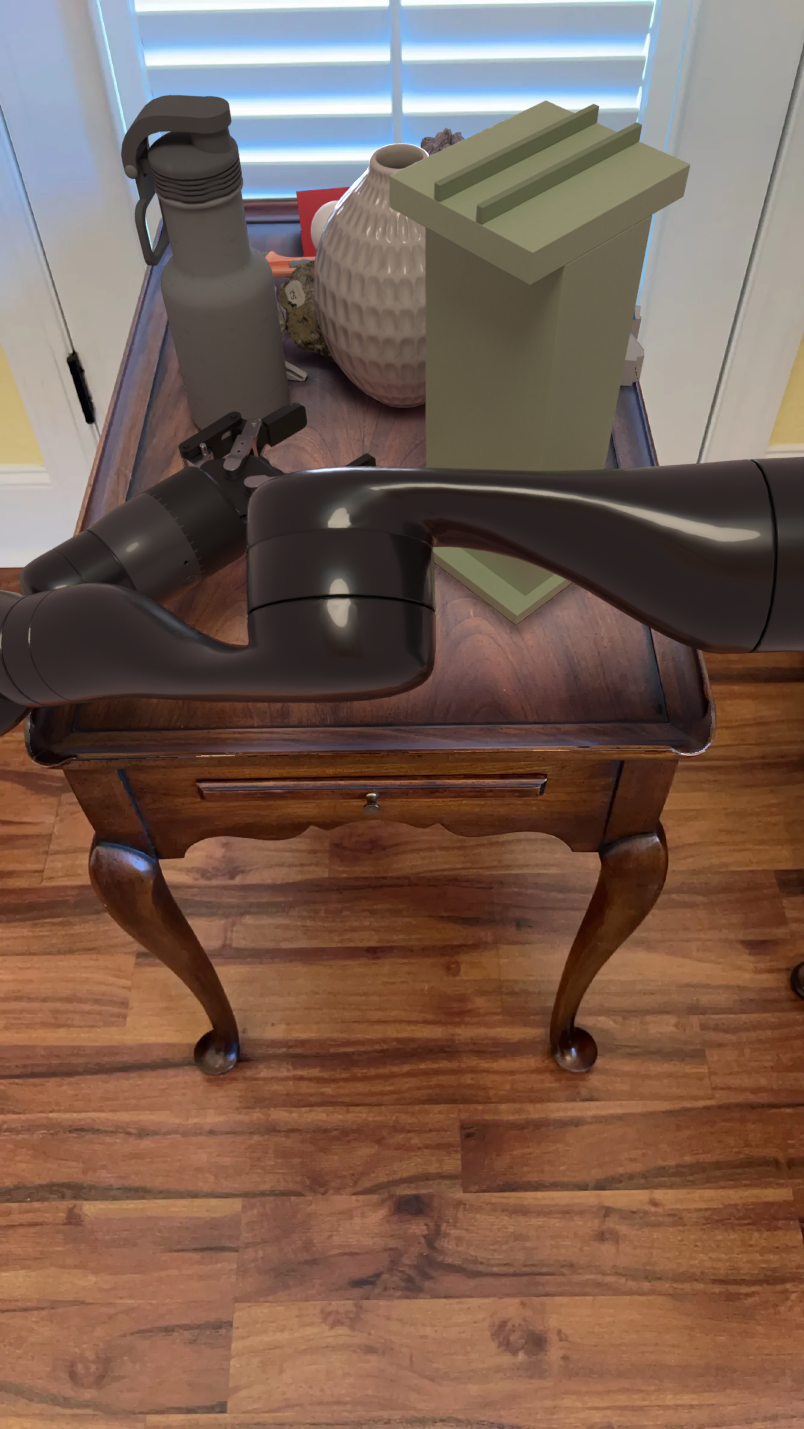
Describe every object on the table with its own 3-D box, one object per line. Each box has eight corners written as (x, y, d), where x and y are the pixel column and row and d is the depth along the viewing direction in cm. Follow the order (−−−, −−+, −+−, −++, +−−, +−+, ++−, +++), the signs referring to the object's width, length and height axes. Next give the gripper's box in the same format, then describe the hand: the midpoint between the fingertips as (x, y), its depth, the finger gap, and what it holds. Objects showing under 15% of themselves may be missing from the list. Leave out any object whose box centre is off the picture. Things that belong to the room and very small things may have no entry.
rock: (323, 394, 101) (258, 320, 94) (328, 345, 106) (266, 271, 100) (367, 367, 98) (303, 288, 92) (369, 317, 104) (309, 240, 97)
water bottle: (175, 440, 95) (95, 132, 72) (203, 377, 101) (137, 73, 78) (278, 449, 94) (230, 140, 71) (300, 385, 99) (263, 79, 77)
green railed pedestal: (507, 631, 81) (547, 241, 54) (392, 542, 87) (377, 152, 60) (619, 546, 86) (707, 152, 59) (504, 468, 92) (536, 78, 65)
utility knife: (251, 248, 107) (392, 242, 99) (254, 257, 108) (395, 251, 99) (231, 271, 105) (373, 266, 97) (234, 279, 106) (376, 275, 97)
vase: (318, 345, 103) (294, 117, 85) (471, 331, 104) (480, 103, 86) (330, 447, 94) (307, 216, 76) (498, 430, 95) (515, 198, 77)
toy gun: (643, 361, 96) (649, 302, 101) (495, 347, 98) (509, 289, 103) (638, 388, 98) (644, 328, 104) (494, 373, 100) (507, 316, 106)
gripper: (214, 556, 65) (396, 442, 71) (98, 453, 72) (275, 356, 78) (233, 629, 71) (400, 518, 77) (126, 528, 78) (287, 433, 84)
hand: (337, 437), depth 77 cm, fingers open, 8 cm apart
